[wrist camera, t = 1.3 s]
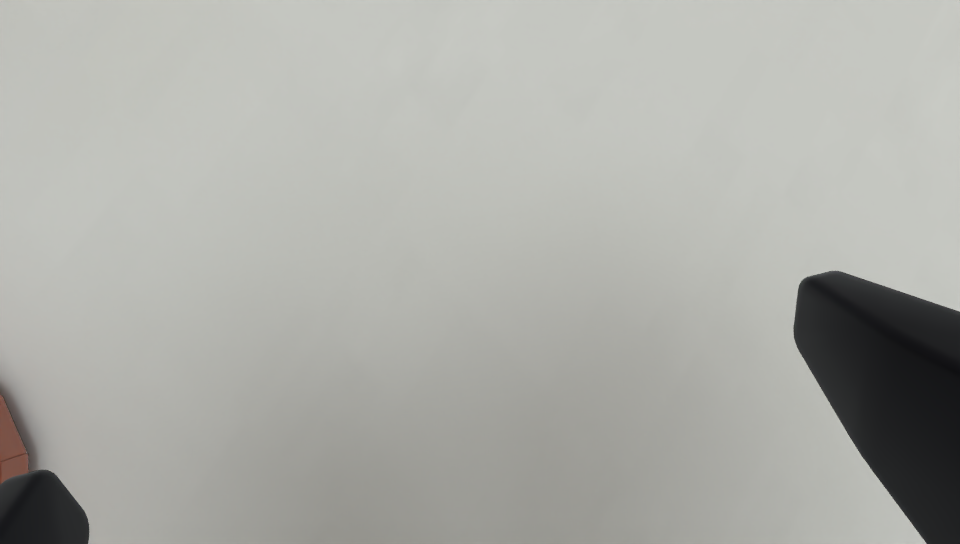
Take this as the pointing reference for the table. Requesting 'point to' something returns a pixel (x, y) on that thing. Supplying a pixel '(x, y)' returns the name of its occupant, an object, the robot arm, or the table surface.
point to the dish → (10, 446)
